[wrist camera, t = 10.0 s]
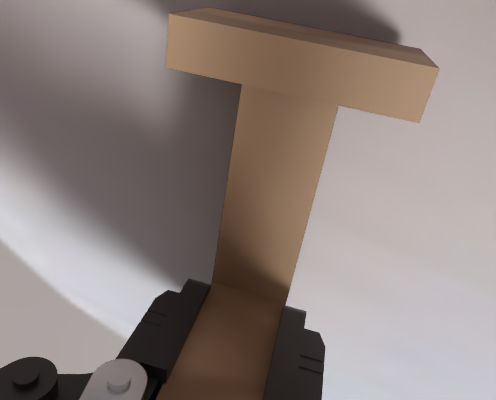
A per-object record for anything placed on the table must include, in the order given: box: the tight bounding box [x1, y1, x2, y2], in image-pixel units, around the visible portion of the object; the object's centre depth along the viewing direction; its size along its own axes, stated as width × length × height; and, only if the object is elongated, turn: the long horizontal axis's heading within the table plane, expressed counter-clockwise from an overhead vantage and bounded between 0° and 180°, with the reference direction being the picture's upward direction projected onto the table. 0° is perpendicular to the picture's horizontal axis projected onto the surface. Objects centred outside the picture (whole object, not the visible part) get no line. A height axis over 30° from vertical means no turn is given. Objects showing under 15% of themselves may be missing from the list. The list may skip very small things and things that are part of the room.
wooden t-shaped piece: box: [156, 7, 439, 400], centre depth 11 cm, size 6×12×9 cm, turn 170°
